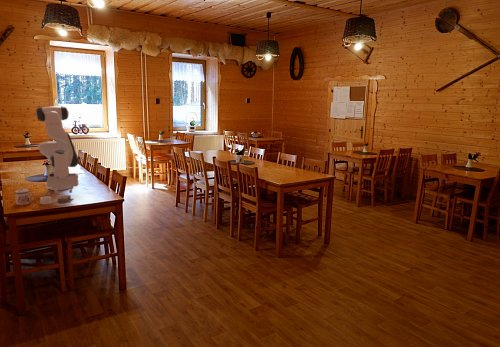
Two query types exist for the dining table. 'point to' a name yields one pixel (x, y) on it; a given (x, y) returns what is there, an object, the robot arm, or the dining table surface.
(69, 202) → the mat
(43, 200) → the bowl
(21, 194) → the teacup with lid
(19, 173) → the dining table surface
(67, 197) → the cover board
